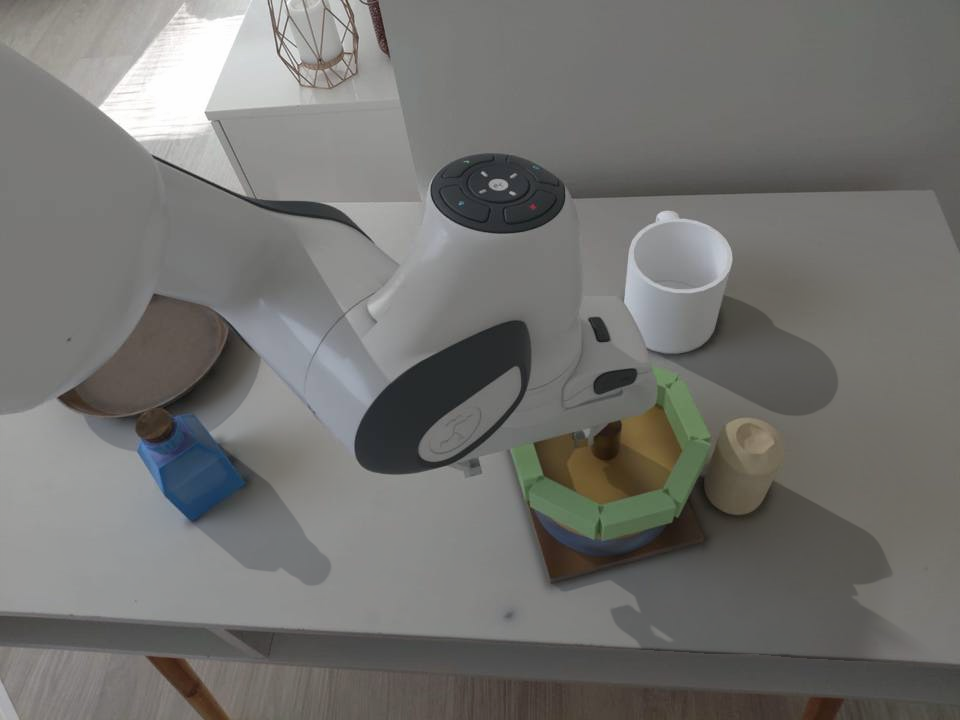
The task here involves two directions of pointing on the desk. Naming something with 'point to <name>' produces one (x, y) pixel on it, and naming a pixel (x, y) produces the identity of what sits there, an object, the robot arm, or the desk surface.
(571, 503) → the ring
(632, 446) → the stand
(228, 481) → the perfume bottle
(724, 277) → the mug
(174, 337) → the plant saucer
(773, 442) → the candle
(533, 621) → the desk surface
